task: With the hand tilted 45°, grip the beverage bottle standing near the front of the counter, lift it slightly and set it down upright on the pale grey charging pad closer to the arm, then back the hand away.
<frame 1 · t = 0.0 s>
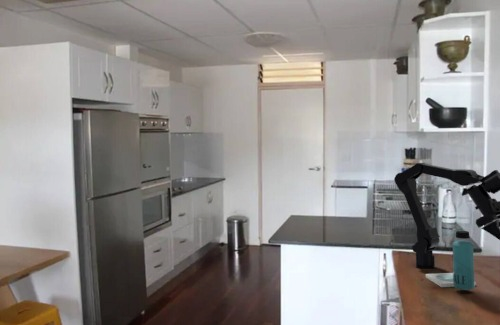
charging pad: (449, 281, 151), on the table
beverage bottle: (464, 292, 140), on the table
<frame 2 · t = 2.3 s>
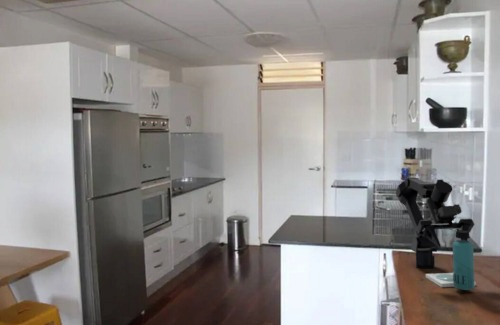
hand: (453, 246, 147), 13 cm above the table, tool tilted 45°, fingers open, 9 cm apart
nothing on the table moved.
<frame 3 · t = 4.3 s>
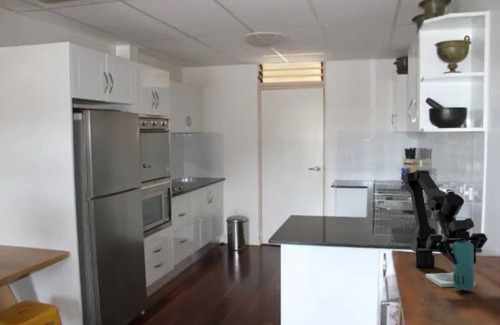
hand: (465, 263, 138), 10 cm above the table, tool tilted 45°, fingers closed on beverage bottle, 6 cm apart
beverage bottle: (464, 292, 140), on the table, touching gripper
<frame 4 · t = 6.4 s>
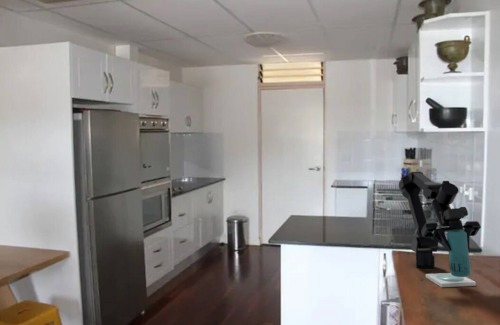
hand: (459, 250, 143), 13 cm above the table, tool tilted 45°, fingers closed on beverage bottle, 6 cm apart
beverage bottle: (461, 279, 144), point 3 cm above the table, touching gripper
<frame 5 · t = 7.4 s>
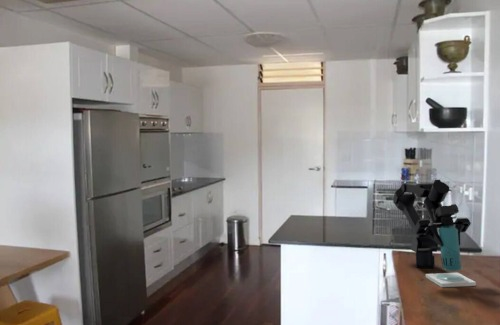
hand: (450, 245, 150), 13 cm above the table, tool tilted 45°, fingers closed on beverage bottle, 6 cm apart
beverage bottle: (452, 273, 152), point 3 cm above the table, touching gripper
when the fingers open (12 cm above the table, at t = 8.3 s): beverage bottle stays where it is, resting on charging pad.
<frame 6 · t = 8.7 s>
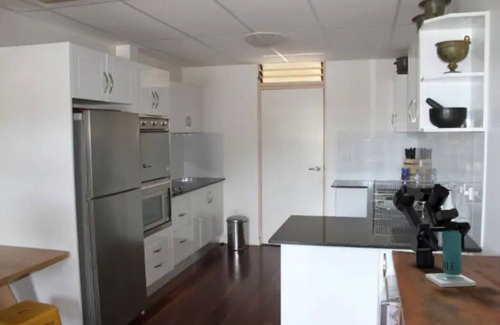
hand: (450, 249, 150), 12 cm above the table, tool tilted 45°, fingers open, 9 cm apart
beverage bottle: (452, 277, 152), point 1 cm above the table, touching charging pad
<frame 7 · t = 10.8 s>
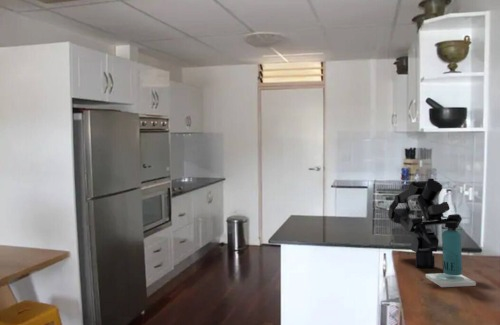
hand: (443, 242, 157), 13 cm above the table, tool tilted 40°, fingers open, 9 cm apart
nothing on the table moved.
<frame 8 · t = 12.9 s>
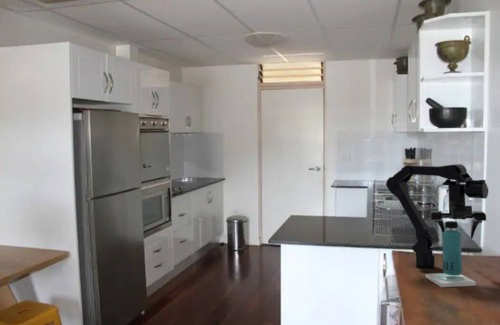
hand: (457, 238, 162), 13 cm above the table, tool pointing down, fingers open, 9 cm apart
nothing on the table moved.
at the end: beverage bottle 1.2 cm off-centre on the charging pad, point 1.1 cm above the charging pad's base; beverage bottle tilted 0°; the gripper is holding nothing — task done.
